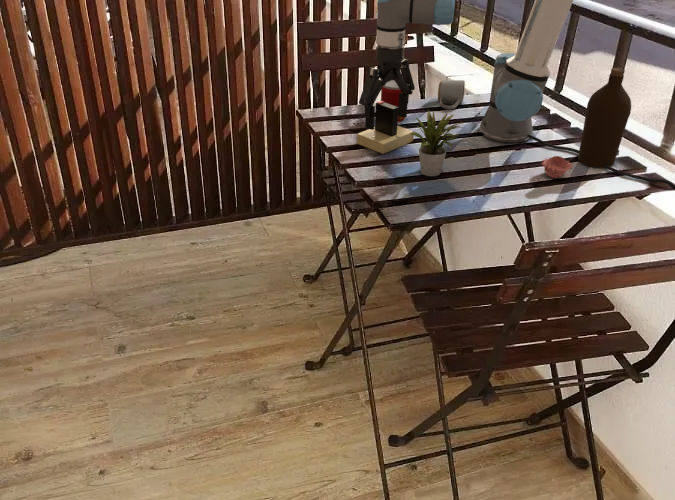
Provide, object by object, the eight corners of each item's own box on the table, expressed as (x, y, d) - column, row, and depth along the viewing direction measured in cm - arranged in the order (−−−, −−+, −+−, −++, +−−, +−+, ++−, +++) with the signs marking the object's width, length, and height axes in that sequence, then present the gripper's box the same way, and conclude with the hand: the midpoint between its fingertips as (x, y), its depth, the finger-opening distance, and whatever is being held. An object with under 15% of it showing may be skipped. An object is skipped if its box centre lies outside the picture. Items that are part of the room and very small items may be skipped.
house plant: (445, 191, 160) (452, 128, 151) (394, 178, 165) (398, 117, 156) (465, 169, 170) (473, 110, 161) (417, 158, 176) (421, 100, 167)
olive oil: (587, 170, 170) (610, 76, 157) (568, 154, 179) (588, 64, 166) (624, 167, 172) (649, 74, 159) (603, 151, 181) (625, 62, 167)
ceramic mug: (438, 97, 217) (441, 75, 213) (463, 100, 215) (466, 77, 211) (435, 109, 208) (437, 86, 204) (460, 111, 207) (463, 88, 202)
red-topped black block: (396, 134, 182) (398, 106, 178) (391, 136, 181) (393, 108, 176) (379, 128, 186) (381, 100, 181) (374, 130, 185) (375, 102, 180)
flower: (552, 167, 172) (556, 148, 169) (576, 178, 166) (581, 158, 163) (531, 174, 168) (535, 154, 165) (556, 186, 162) (560, 166, 159)
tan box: (383, 154, 178) (384, 143, 176) (355, 143, 184) (356, 132, 182) (414, 141, 186) (414, 131, 184) (386, 131, 192) (386, 121, 190)
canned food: (404, 123, 197) (406, 88, 191) (378, 121, 198) (379, 86, 193) (407, 114, 204) (409, 80, 198) (381, 112, 205) (383, 78, 199)
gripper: (367, 57, 161) (365, 137, 172) (431, 39, 175) (424, 114, 187) (346, 51, 165) (345, 129, 176) (410, 34, 180) (405, 108, 191)
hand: (386, 122), depth 182 cm, fingers open, 13 cm apart
